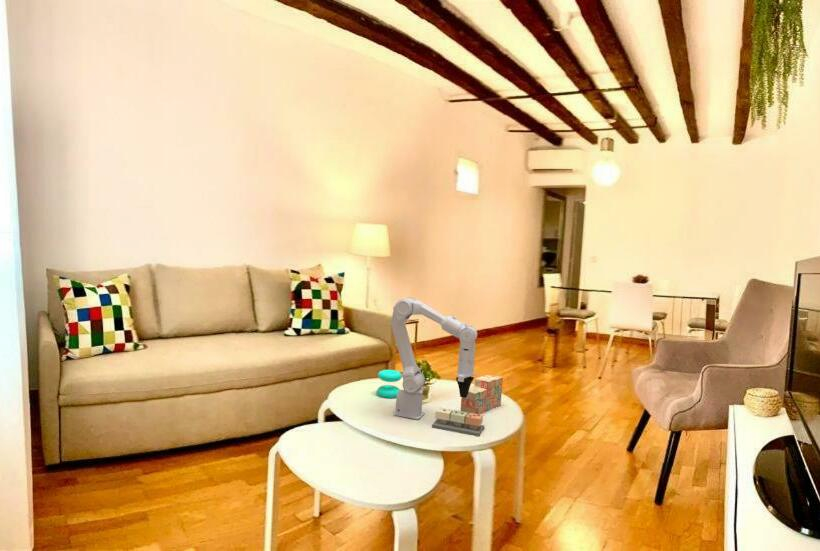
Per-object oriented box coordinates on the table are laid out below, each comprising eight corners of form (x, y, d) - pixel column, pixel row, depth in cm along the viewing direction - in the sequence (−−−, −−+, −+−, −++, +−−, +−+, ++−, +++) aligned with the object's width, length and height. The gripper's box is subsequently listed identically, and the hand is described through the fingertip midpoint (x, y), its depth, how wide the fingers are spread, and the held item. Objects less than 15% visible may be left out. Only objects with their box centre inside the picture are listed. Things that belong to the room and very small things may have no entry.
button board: (431, 427, 180) (432, 419, 180) (438, 419, 189) (439, 411, 189) (479, 436, 175) (479, 427, 175) (484, 428, 183) (484, 420, 183)
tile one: (435, 418, 182) (435, 410, 182) (439, 414, 187) (439, 406, 186) (448, 420, 180) (449, 413, 180) (452, 416, 185) (453, 409, 185)
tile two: (450, 420, 180) (450, 413, 180) (453, 416, 185) (454, 409, 185) (464, 423, 178) (464, 415, 178) (467, 419, 183) (467, 411, 183)
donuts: (385, 367, 221) (406, 371, 217) (383, 390, 222) (404, 394, 218) (374, 372, 212) (395, 376, 208) (372, 395, 213) (393, 400, 209)
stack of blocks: (473, 417, 195) (476, 385, 194) (459, 413, 199) (462, 382, 198) (500, 406, 212) (503, 376, 211) (487, 402, 215) (490, 373, 215)
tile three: (465, 423, 178) (466, 416, 178) (468, 419, 183) (469, 412, 183) (479, 426, 177) (480, 418, 176) (482, 421, 181) (483, 414, 181)
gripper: (472, 365, 177) (469, 404, 178) (481, 357, 191) (478, 393, 191) (453, 362, 179) (450, 400, 180) (463, 355, 193) (460, 390, 194)
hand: (463, 396), depth 186 cm, fingers closed
